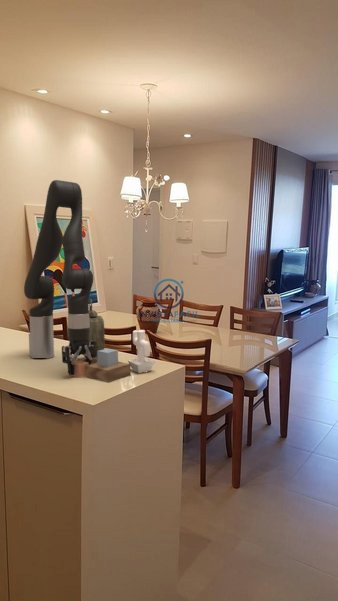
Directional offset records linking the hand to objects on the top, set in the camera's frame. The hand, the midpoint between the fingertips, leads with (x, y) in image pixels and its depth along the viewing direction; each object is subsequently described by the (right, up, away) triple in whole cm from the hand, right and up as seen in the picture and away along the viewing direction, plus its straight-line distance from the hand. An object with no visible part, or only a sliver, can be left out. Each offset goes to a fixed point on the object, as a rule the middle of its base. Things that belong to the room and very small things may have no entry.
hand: (79, 372), depth 161 cm
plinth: (+10, -1, -1) cm, 10 cm away
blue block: (+10, +3, -2) cm, 11 cm away
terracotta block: (0, -1, 0) cm, 1 cm away
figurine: (+21, -1, +6) cm, 22 cm away
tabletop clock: (0, +1, +19) cm, 20 cm away
